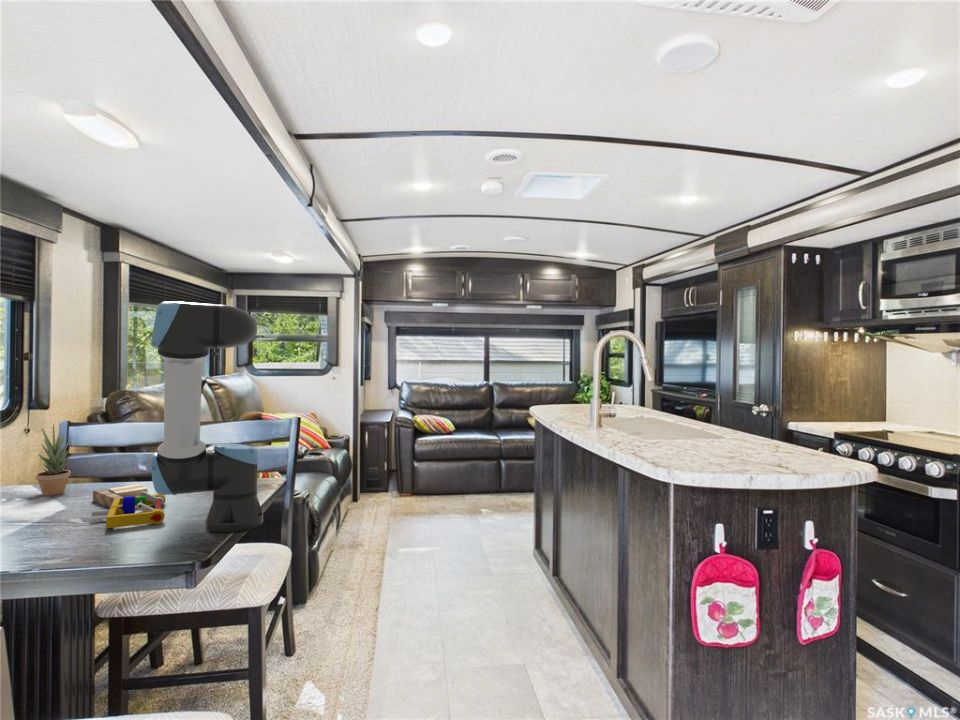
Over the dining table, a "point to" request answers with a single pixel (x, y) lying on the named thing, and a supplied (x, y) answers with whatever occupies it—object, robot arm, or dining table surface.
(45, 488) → the potted plant
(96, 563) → the dining table surface
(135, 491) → the block
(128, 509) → the mechanical clamp
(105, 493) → the board
